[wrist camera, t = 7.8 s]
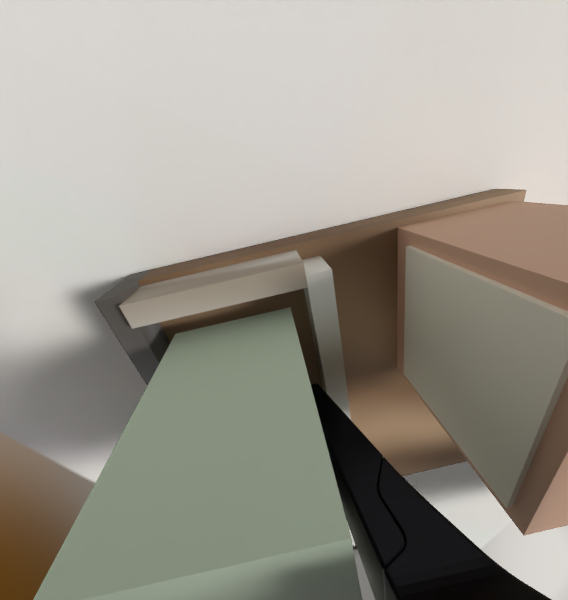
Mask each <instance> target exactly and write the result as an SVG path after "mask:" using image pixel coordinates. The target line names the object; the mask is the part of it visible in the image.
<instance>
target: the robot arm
mask: <svg viewBox="0 0 568 600" xmlns="http://www.w3.org/2000/svg"><path fill="white" fill-rule="evenodd" d="M311 388H312V391H313V395H314V399H315V403H316V406H317V410H318V414H319V418H320V422H321V425H322V429H323V433H324V437H325V441H326V444H327V448H328V452H329V456H330V460H331V463H332V467H333V471H334V475H335V478H336V482H337V486H338V490H339V494H340V497H341V501H342V505H343V509H344V513H345V516H346V519H347V522H348V525H349V528H350V530H351V533H352V536H353V539H354V542H355V544H356V547H357V550H358V553H359V556H360V558H361V561H362V564H363V567H364V569H365V572H366V575H367V578H368V581H369V583H370V586H371V589H372V592H373V595H374V597H375V600H551V599H550V598H548V597H546V596H545V595H543V594H541V593H540V592H538V591H536V590H535V589H533V588H532V587H530V586H528V585H527V584H525V583H524V582H522V581H520V580H519V579H517V578H516V577H515V576H513V575H512V574H510V573H508V572H507V571H506V570H505V569H503V568H502V567H501V566H500V565H498V564H497V563H496V562H495V561H493V560H492V559H491V558H490V557H489V556H487V555H486V554H485V553H484V552H483V551H482V550H481V549H479V548H478V547H477V546H476V545H475V544H474V543H473V542H472V541H471V540H470V539H468V538H467V537H466V536H465V535H464V534H463V533H462V532H461V531H460V530H459V529H457V528H456V527H455V526H454V525H453V524H452V523H451V522H450V521H449V520H448V519H446V518H445V517H444V516H443V515H442V514H441V513H440V512H439V511H438V510H437V509H436V508H434V507H433V506H432V505H431V504H430V503H429V502H428V501H427V500H426V499H425V498H424V497H423V496H422V495H421V494H419V493H418V492H417V491H416V490H415V489H414V488H413V487H412V486H411V485H410V484H409V483H408V482H407V481H406V480H405V479H404V478H403V477H402V476H401V474H400V473H399V472H398V471H397V470H396V469H395V468H394V467H393V466H392V465H391V464H390V463H389V462H388V460H387V459H386V458H385V457H383V455H382V454H381V453H380V452H379V451H378V450H377V448H376V447H375V446H374V445H373V444H372V443H371V442H370V441H369V440H368V438H367V437H366V436H365V435H364V434H363V433H362V432H361V431H360V430H359V428H358V427H357V426H356V425H355V424H354V423H353V422H352V421H351V420H350V418H349V417H348V416H347V415H346V414H345V413H344V412H343V411H342V410H341V408H340V407H339V406H338V405H337V404H336V403H335V402H334V401H333V400H332V399H331V397H330V396H329V395H328V394H327V393H326V392H325V391H324V390H323V389H322V387H321V386H320V385H319V384H318V383H313V384H311Z"/></svg>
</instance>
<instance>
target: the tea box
mask: <svg viewBox="0 0 568 600" xmlns="http://www.w3.org/2000/svg"><path fill="white" fill-rule="evenodd" d="M33 600H362V595H361V589H360V584H359V578H358V573H357V567H356V562H355V556H354V550H353V545H352V539H351V535H350V532H349V528H348V524H347V520H346V516H345V513H344V509H343V505H342V501H341V497H340V494H339V490H338V486H337V482H336V478H335V475H334V471H333V467H332V463H331V460H330V456H329V452H328V448H327V444H326V441H325V437H324V433H323V429H322V425H321V422H320V418H319V414H318V410H317V406H316V403H315V399H314V395H313V391H312V388H311V384H310V380H309V376H308V372H307V369H306V365H305V361H304V357H303V353H302V350H301V346H300V342H299V338H298V334H297V331H296V327H295V323H294V319H293V316H292V312H291V308H290V307H289V308H285V309H281V310H276V311H272V312H268V313H263V314H259V315H255V316H250V317H246V318H242V319H237V320H233V321H228V322H224V323H220V324H215V325H211V326H207V327H202V328H198V329H194V330H189V331H185V332H181V333H176V334H175V336H174V337H173V339H172V341H171V343H170V345H169V347H168V349H167V350H166V352H165V354H164V356H163V358H162V360H161V362H160V364H159V365H158V367H157V369H156V371H155V373H154V375H153V377H152V379H151V380H150V382H149V384H148V386H147V388H146V390H145V392H144V394H143V395H142V397H141V399H140V401H139V403H138V405H137V407H136V408H135V410H134V412H133V414H132V416H131V418H130V420H129V422H128V423H127V425H126V427H125V429H124V431H123V433H122V435H121V437H120V438H119V440H118V442H117V444H116V446H115V448H114V450H113V451H112V453H111V455H110V457H109V459H108V461H107V463H106V465H105V466H104V468H103V470H102V472H101V474H100V476H99V478H98V480H97V481H96V483H95V485H94V487H93V489H92V491H91V493H90V495H89V496H88V498H87V500H86V502H85V504H84V506H83V508H82V509H81V512H80V513H79V515H78V517H77V519H76V521H75V523H74V525H73V526H72V528H71V530H70V532H69V534H68V536H67V538H66V540H65V541H64V543H63V545H62V547H61V549H60V551H59V553H58V554H57V556H56V558H55V560H54V562H53V564H52V566H51V567H50V570H49V571H48V573H47V575H46V577H45V579H44V581H43V582H42V584H41V586H40V588H39V590H38V592H37V594H36V596H35V597H34V599H33Z"/></svg>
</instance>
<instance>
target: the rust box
mask: <svg viewBox="0 0 568 600" xmlns="http://www.w3.org/2000/svg"><path fill="white" fill-rule="evenodd" d="M397 368H398V370H399V371H400V372H401V373H402V375H403V376H404V377H405V379H406V380H407V381H408V383H409V384H410V385H411V387H412V388H413V389H414V391H415V392H416V393H417V395H418V396H419V397H420V399H421V400H422V401H423V403H424V404H425V405H426V407H427V408H428V409H429V411H430V412H431V413H432V415H433V416H434V417H435V419H436V420H437V421H438V423H439V424H440V425H441V426H442V428H443V429H444V430H445V432H446V433H447V434H448V436H449V437H450V438H451V440H452V441H453V442H454V444H455V445H456V446H457V448H458V449H459V450H460V452H461V453H462V454H463V456H464V457H465V458H466V460H467V461H468V462H469V464H470V465H471V466H472V468H473V469H474V470H475V472H476V473H477V474H478V476H479V477H480V478H481V479H482V481H483V482H484V483H485V485H486V486H487V487H488V489H489V490H490V491H491V493H492V494H493V495H494V497H495V498H496V499H497V501H498V502H499V503H500V505H501V506H502V507H503V509H504V510H505V511H506V513H507V514H508V515H509V517H510V518H511V519H512V521H513V522H514V523H515V525H516V526H517V527H518V528H519V530H520V531H521V532H522V533H523V535H527V534H532V533H535V532H540V531H544V530H549V529H553V528H557V527H562V526H566V525H568V205H556V204H543V203H530V202H518V201H508V202H504V203H500V204H495V205H491V206H487V207H483V208H478V209H474V210H470V211H465V212H461V213H457V214H453V215H448V216H444V217H440V218H436V219H431V220H427V221H423V222H419V223H414V224H410V225H406V226H402V227H398V302H397Z"/></svg>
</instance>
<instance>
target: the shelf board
mask: <svg viewBox="0 0 568 600" xmlns="http://www.w3.org/2000/svg"><path fill="white" fill-rule="evenodd" d="M525 193H526V190H515V189H493V190H489V191H484V192H480V193H476V194H472V195H467V196H463V197H459V198H455V199H450V200H446V201H442V202H437V203H433V204H429V205H425V206H420V207H416V208H412V209H408V210H403V211H399V212H395V213H391V214H386V215H382V216H378V217H374V218H369V219H365V220H361V221H357V222H352V223H348V224H344V225H340V226H335V227H331V228H327V229H322V230H318V231H314V232H310V233H305V234H301V235H297V236H293V237H288V238H284V239H280V240H276V241H271V242H267V243H263V244H259V245H254V246H250V247H246V248H242V249H237V250H233V251H229V252H225V253H220V254H216V255H212V256H208V257H203V258H199V259H195V260H190V261H186V262H182V263H178V264H173V265H169V266H165V267H161V268H156V269H152V270H148V271H144V272H139V273H135V274H131V275H130V276H128V277H127V278H126V279H124V280H123V281H122V282H120V283H119V284H118V285H116V286H115V287H114V288H112V289H111V290H110V291H108V292H107V293H106V294H104V295H103V296H102V297H100V298H99V299H98V300H96V301H95V304H96V305H97V307H98V308H99V310H100V311H101V313H102V315H103V316H104V318H105V319H106V321H107V323H108V324H109V326H110V327H111V329H112V330H113V332H114V334H115V335H116V337H117V338H118V340H119V341H120V343H121V345H122V346H123V348H124V349H125V351H126V352H127V354H128V356H129V357H130V359H131V360H132V362H133V364H134V365H135V367H136V368H137V370H138V371H139V373H140V375H141V376H142V378H143V379H144V381H145V382H146V384H147V386H148V384H149V382H150V380H151V379H152V377H153V375H154V373H155V371H156V369H157V367H158V365H159V364H160V362H161V360H162V358H163V356H164V354H165V352H166V350H167V349H168V347H169V345H170V343H171V341H172V339H173V337H174V336H175V334H176V333H181V332H185V331H189V330H194V329H198V328H202V327H207V326H211V325H215V324H220V323H224V322H228V321H233V320H237V319H242V318H246V317H250V316H255V315H259V314H263V313H268V312H272V311H276V310H281V309H285V308H289V307H290V308H291V312H292V316H293V319H294V323H295V327H296V331H297V334H298V338H299V342H300V346H301V350H302V353H303V357H304V361H305V365H306V369H307V372H308V376H309V380H310V384H313V383H318V384H319V385H320V386H321V387H322V389H323V390H324V391H325V392H326V393H327V394H328V395H329V396H330V397H331V399H332V400H333V401H334V402H335V403H336V404H337V405H338V406H339V407H340V408H341V410H342V411H343V412H344V413H345V414H346V415H347V416H348V417H349V418H350V420H351V421H352V422H353V423H354V424H355V425H356V426H357V427H358V428H359V430H360V431H361V432H362V433H363V434H364V435H365V436H366V437H367V438H368V440H369V441H370V442H371V443H372V444H373V445H374V446H375V447H376V448H377V450H378V451H379V452H380V453H381V454H382V455H383V457H385V458H386V459H387V460H388V462H389V463H390V464H391V465H392V466H393V467H394V468H395V469H396V470H397V471H398V472H399V473H400V474H401V476H405V475H409V474H413V473H417V472H422V471H426V470H430V469H434V468H439V467H443V466H447V465H452V464H456V463H460V462H464V461H467V460H466V458H465V457H464V456H463V454H462V453H461V452H460V450H459V449H458V448H457V446H456V445H455V444H454V442H453V441H452V440H451V438H450V437H449V436H448V434H447V433H446V432H445V430H444V429H443V428H442V426H441V425H440V424H439V423H438V421H437V420H436V419H435V417H434V416H433V415H432V413H431V412H430V411H429V409H428V408H427V407H426V405H425V404H424V403H423V401H422V400H421V399H420V397H419V396H418V395H417V393H416V392H415V391H414V389H413V388H412V387H411V385H410V384H409V383H408V381H407V380H406V379H405V377H404V376H403V375H402V373H401V372H400V371H399V370H398V368H397V302H398V227H402V226H406V225H410V224H414V223H419V222H423V221H427V220H431V219H436V218H440V217H444V216H448V215H453V214H457V213H461V212H465V211H470V210H474V209H478V208H483V207H487V206H491V205H495V204H500V203H504V202H508V201H518V202H524V198H525Z"/></svg>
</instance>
